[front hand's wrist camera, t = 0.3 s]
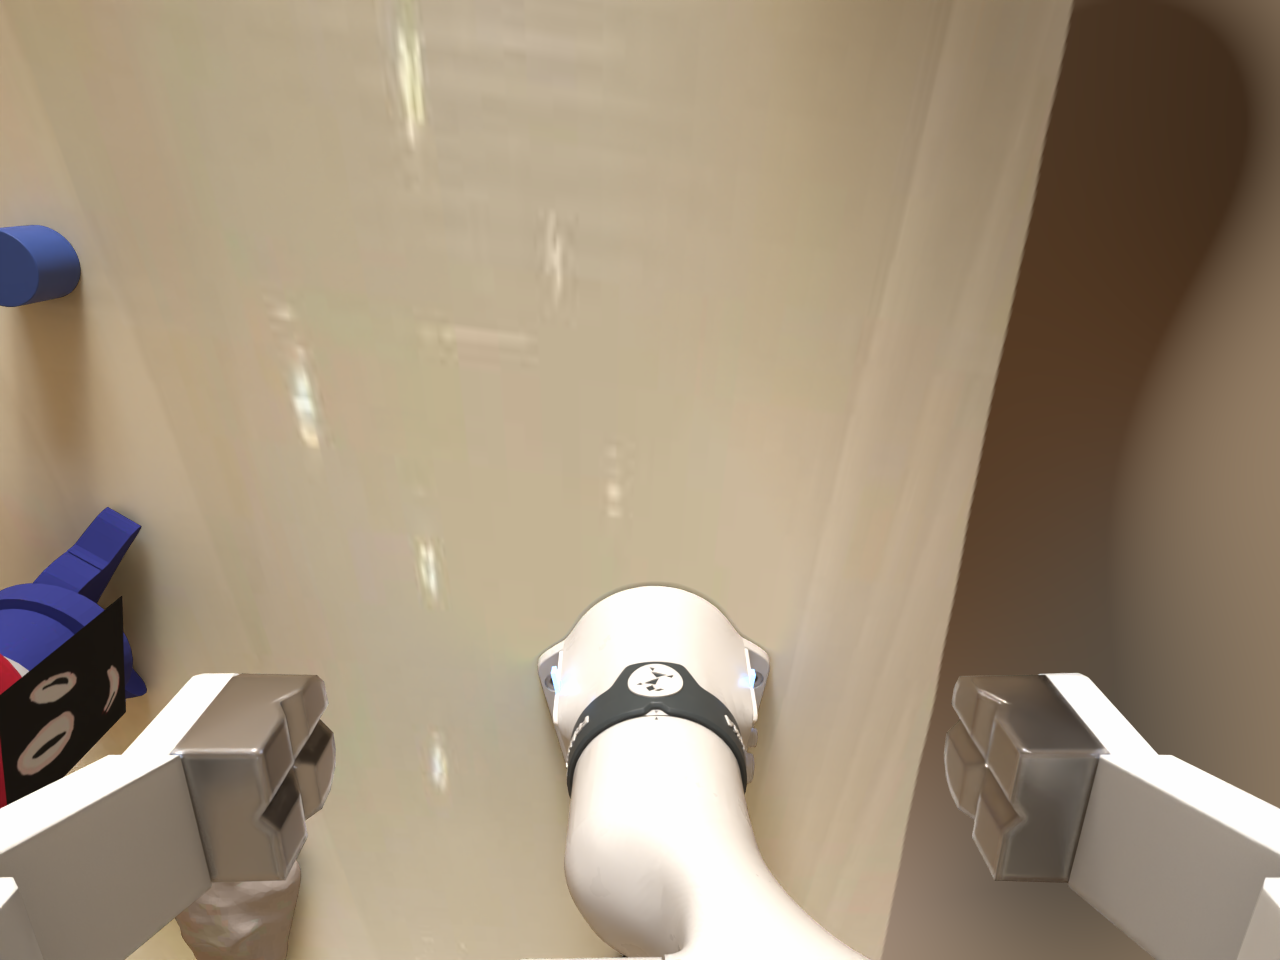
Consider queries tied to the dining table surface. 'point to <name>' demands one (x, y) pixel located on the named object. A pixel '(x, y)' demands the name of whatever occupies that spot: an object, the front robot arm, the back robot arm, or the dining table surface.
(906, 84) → the dining table surface
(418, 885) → the dining table surface
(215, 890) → the arrowhead
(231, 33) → the dining table surface
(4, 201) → the dining table surface
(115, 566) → the figurine
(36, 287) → the can
